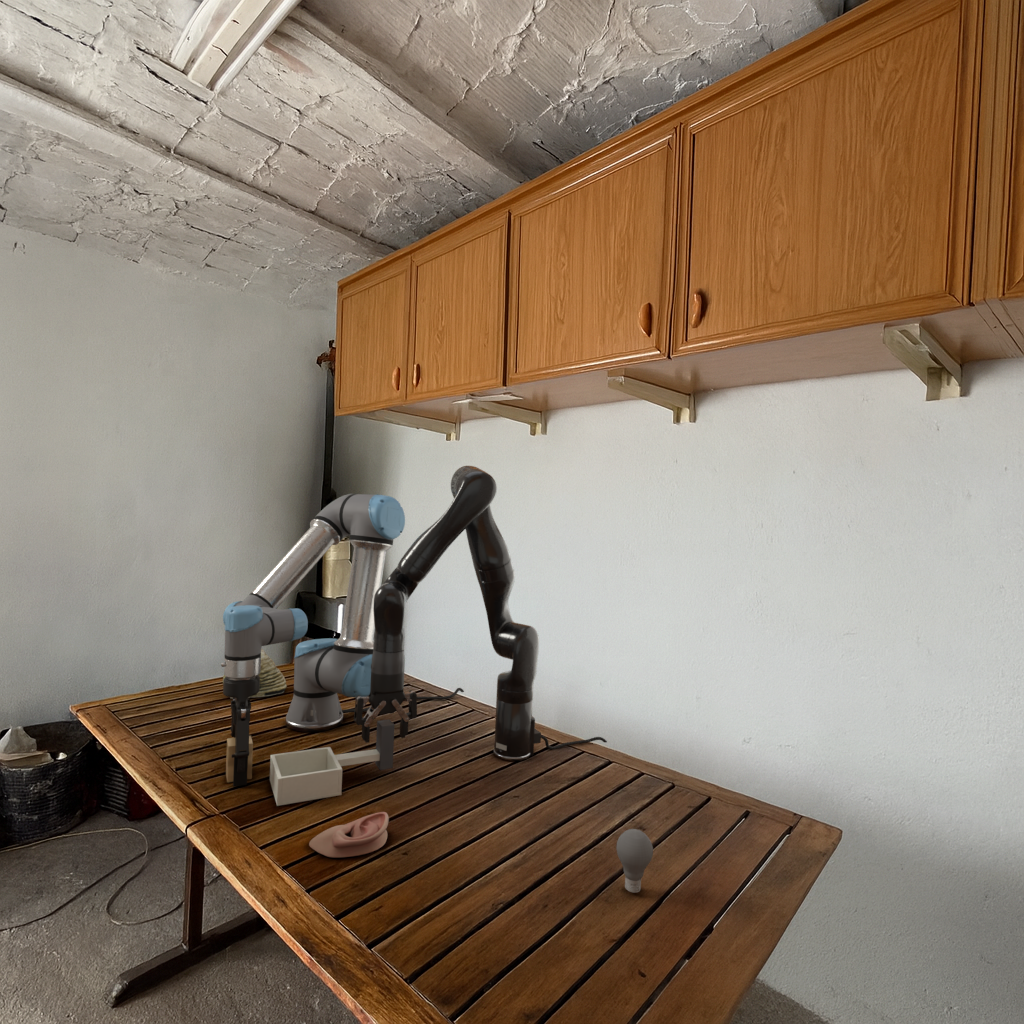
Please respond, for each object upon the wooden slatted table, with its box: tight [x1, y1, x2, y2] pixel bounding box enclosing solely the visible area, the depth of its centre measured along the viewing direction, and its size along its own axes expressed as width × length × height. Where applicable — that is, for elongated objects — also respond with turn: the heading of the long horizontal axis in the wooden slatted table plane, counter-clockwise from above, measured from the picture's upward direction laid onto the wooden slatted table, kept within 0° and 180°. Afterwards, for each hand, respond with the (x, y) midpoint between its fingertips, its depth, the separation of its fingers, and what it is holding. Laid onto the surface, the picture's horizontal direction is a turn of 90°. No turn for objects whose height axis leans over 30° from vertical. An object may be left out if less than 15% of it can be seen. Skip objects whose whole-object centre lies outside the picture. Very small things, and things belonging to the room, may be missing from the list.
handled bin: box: [269, 718, 395, 807], centre depth 141 cm, size 26×13×12 cm, turn 117°
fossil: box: [222, 648, 288, 699], centre depth 198 cm, size 9×18×15 cm, turn 132°
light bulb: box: [615, 828, 654, 894], centre depth 106 cm, size 6×6×10 cm
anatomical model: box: [308, 811, 390, 859], centre depth 117 cm, size 13×4×12 cm
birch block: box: [225, 735, 254, 783], centre depth 142 cm, size 5×5×8 cm
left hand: (238, 775), depth 142 cm, fingers open, 10 cm apart
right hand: (384, 739), depth 146 cm, fingers open, 8 cm apart
